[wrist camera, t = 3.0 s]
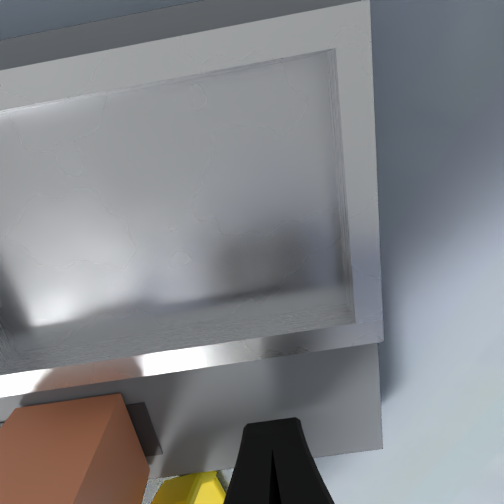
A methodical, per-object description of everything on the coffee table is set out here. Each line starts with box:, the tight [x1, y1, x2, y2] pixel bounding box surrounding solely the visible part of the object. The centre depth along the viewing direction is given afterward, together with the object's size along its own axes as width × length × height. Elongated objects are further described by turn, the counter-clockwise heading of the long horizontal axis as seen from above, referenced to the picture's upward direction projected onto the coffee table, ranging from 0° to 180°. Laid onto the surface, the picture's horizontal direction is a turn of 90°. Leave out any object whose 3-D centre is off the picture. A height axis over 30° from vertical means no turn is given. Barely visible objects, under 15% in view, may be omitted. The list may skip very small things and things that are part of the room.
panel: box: [0, 0, 383, 479], centre depth 10 cm, size 14×12×1 cm
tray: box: [0, 0, 384, 397], centre depth 8 cm, size 10×7×1 cm
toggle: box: [0, 393, 150, 504], centre depth 9 cm, size 3×3×4 cm
